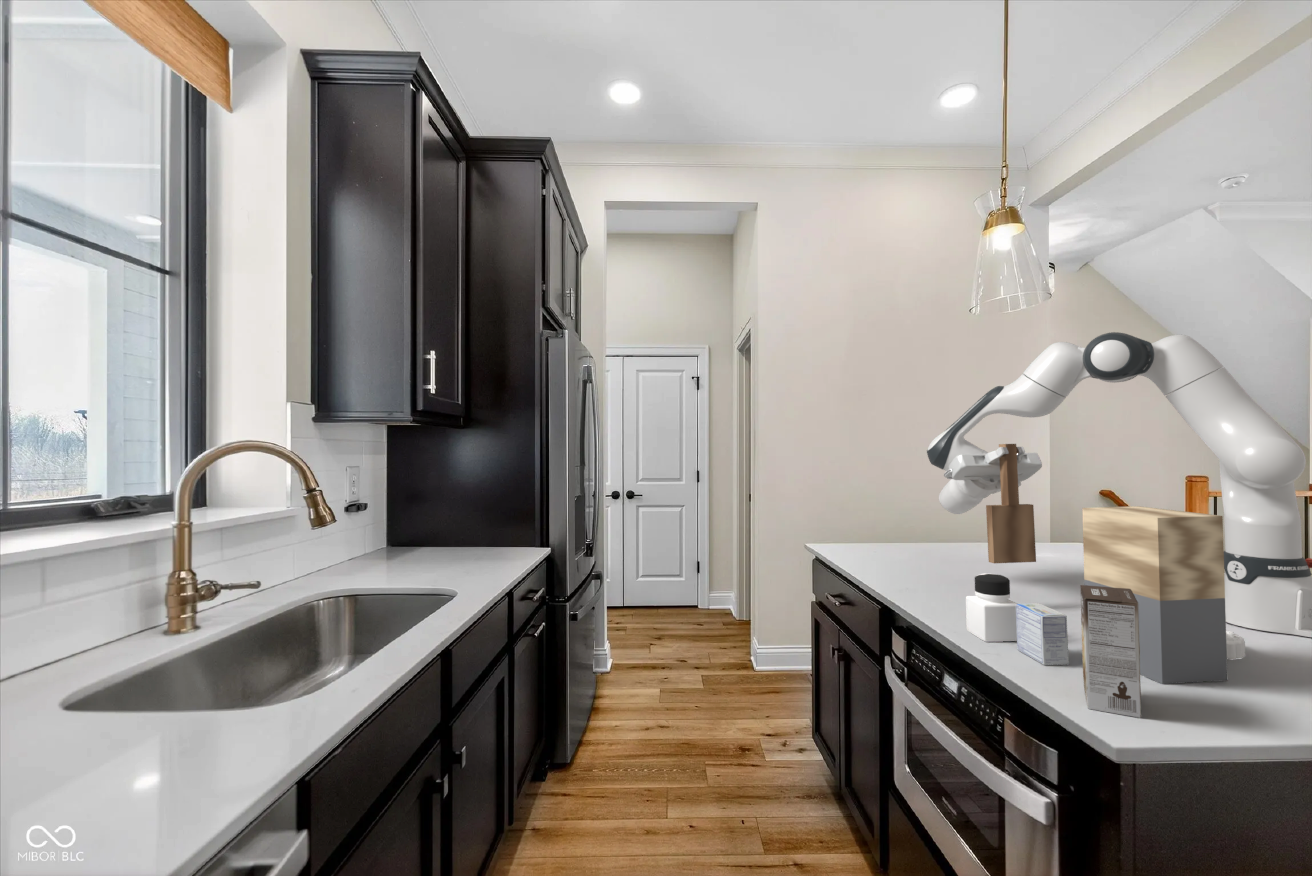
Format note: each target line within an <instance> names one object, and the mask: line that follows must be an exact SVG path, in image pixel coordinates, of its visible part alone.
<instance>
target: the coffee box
mask: <svg viewBox="0 0 1312 876" xmlns="http://www.w3.org/2000/svg"><path fill="white" fill-rule="evenodd" d="M1080 615H1081V616H1080V617H1081V618H1080V619H1081V620H1080V622H1081V648H1082V649H1081V653H1082V654H1081V655H1082V676H1083V677H1082V680H1083V681H1082V682H1083V689H1084V695H1085V702H1086V707H1087V709H1089V710H1093V711H1098V712H1099V711H1100V712H1105V713H1111V714H1117V715H1122V716H1128V717H1133V718H1138V719H1141V718H1142V700H1141V699H1142V692H1141V691H1142V690H1141V675H1140V645H1139V603H1138V601H1137V600H1136V598H1135V596H1134V594H1133V592H1132V590H1131V589H1126V588H1112V587H1101V586H1088V585H1084V584H1081V585H1080Z"/></svg>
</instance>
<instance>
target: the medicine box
mask: <svg viewBox="0 0 1312 876" xmlns="http://www.w3.org/2000/svg"><path fill="white" fill-rule="evenodd" d="M1016 626H1017V642H1016V647H1017V650H1018V651H1019V652H1021V653H1022V654H1024V655H1026V656H1027V657H1030V658H1032V659H1033V660H1035V661H1036V662H1038V663H1040V664H1042V665H1043V666H1068V665H1070V661H1069V638H1068V636H1069V635H1068V619H1067V615H1066V614H1065V613H1062V612H1060V611H1058V610H1056V609H1053V608H1051V607H1049V606H1045V605H1043V604H1041V603H1038V602H1037V603H1036V602H1035V603H1034V602H1033V603H1031V602H1029V603H1026V602H1025V603H1018V604H1016Z"/></svg>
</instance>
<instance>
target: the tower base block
mask: <svg viewBox="0 0 1312 876" xmlns="http://www.w3.org/2000/svg"><path fill="white" fill-rule="evenodd" d="M1083 579H1084V578H1083ZM1083 582H1084V584H1083V585H1088V586H1101V587H1109V586H1106V585H1102V584H1099V583H1095V582H1092V581H1088V580H1085V579H1084V581H1083ZM1112 588H1113V587H1112ZM1133 594H1134V593H1133ZM1134 596H1135V598H1136V600H1137V601H1138V603H1139V645H1140V676H1143V677H1144V678H1145V677H1146V678H1147V679H1150V680H1151V681H1155V682H1157V683H1159V684H1161V685H1167V684H1168V685H1169V684H1171V685H1172V684H1173V685H1174V684H1188V683H1187V682H1193V683H1204V682H1203V681H1212V682H1227V681H1228V659H1227V647H1226V630H1227V624H1226V623H1227V622H1226V614H1225V598H1216V599H1192V600H1167V601H1159V600H1155V599H1152V598H1148V597H1145V596H1141V595H1138V594H1134ZM1184 682H1186V683H1184Z"/></svg>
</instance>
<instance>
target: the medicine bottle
mask: <svg viewBox="0 0 1312 876" xmlns="http://www.w3.org/2000/svg"><path fill="white" fill-rule="evenodd" d="M1010 585H1011V582H1010V579H1009V578H1008V577H1006V576H1004V575H1002V574H998V573H980V574H977V575H975V576H974V595H967V596H965V615H966V617H965V619H966V621H965V622H966V631H967V632H968V633H970V634H971V633H972V635H973V636H975V637H977V638H978V639H980V640H981V641H983V642H985V643H1001V642H1003V641H1017V626H1016V604H1019V603H1017V602H1015V601H1013V600H1010V598H1011V586H1010Z"/></svg>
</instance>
